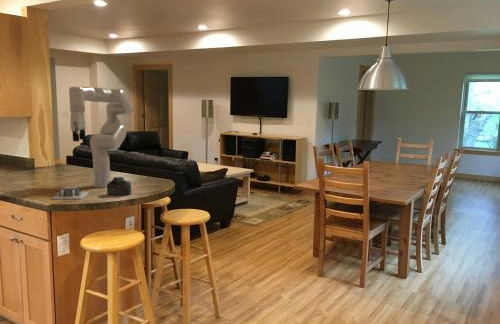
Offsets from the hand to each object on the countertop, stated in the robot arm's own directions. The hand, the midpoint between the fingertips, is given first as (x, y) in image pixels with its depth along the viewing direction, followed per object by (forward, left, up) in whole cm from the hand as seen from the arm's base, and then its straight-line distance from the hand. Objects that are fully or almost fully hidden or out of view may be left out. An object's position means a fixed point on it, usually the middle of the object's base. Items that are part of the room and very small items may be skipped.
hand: (79, 140), depth 232 cm
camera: (+2, +22, -31) cm, 37 cm away
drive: (+8, -4, -29) cm, 31 cm away
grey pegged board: (+8, -3, -30) cm, 32 cm away
